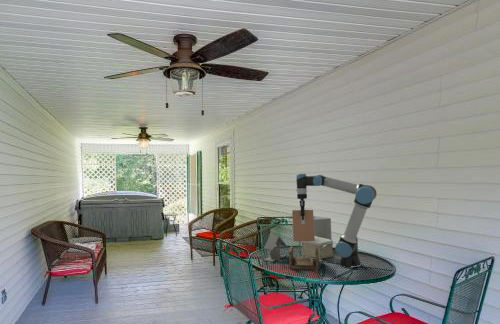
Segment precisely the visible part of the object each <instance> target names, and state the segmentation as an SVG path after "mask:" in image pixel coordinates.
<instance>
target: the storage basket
mask: <svg viewBox="0 0 500 324" xmlns="http://www.w3.org/2000/svg"><path fill="white" fill-rule="evenodd" d="M300 242H301V251H302V255H303V257H312V258H314V259H316V246H318V258H319V260H321V259H325V258H330V257H333V246H334V245H333V244H334V241H333V239H332V240H329V239H325V238H321V237H316V236H314V241H300Z"/></svg>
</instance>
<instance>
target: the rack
mask: <svg viewBox="0 0 500 324" xmlns="http://www.w3.org/2000/svg"><path fill="white" fill-rule="evenodd" d="M295 258H296V257H294V246H293V245H290V247H289V250H288V261H289V263H288V264H289V266H288V267H289V270H292V269H293V270H319V265H320V263H319V260H320V259H319V258H318V246H316V258H315V257H312V258H310V260H313V263H314V266H310V265H294V264H295V262H297V261H295Z"/></svg>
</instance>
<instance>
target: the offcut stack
mask: <svg viewBox="0 0 500 324" xmlns="http://www.w3.org/2000/svg"><path fill="white" fill-rule="evenodd" d="M310 257H311V256H295V257H294V258H295V261H297V262H295V264H294V265H310V266H314V263H313V260H310Z"/></svg>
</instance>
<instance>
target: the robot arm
mask: <svg viewBox="0 0 500 324" xmlns="http://www.w3.org/2000/svg"><path fill="white" fill-rule="evenodd" d="M320 186H322V187H327V188H330V189H333V190H334V189H335V190H337V191H341V192H345V193H349V194H352V195H355V196H354V197H355V198H354V200H353V203H354V207H353V208H352V211H351V215H350V217H349V219H348V222H347V225H346V227H345V230H344V233H343V234H341V235H340V237H339V240H338V242H337V243H336V245H335V252H336V255H338V256H339V257H340V258H341V259H340V263H339V265H340V266H341V265H342V266H345V267H344V268H346V267H351V266H357V265H360V264H361V259H360V257H359V246H358V245H359V244H358V239H359V238H358V234H359V231H360V228H361V226H362V223H363V221H364V218H365V216H366V213H367V210H368V209H370V208H371V205H372V203H373V200H375V199H376V197H377V190H376V188H375V186H372V185H369V184H363V183H358V184H357V183H352V182H349V181H345V180H340V179H335V178H332V177H328V176H324V175H322V174H318V175H310V176H307V173H297V174H296V190H295V191H296V192H297V194H296V196H297V197H296V198H297V200H299V207H300V210H301V215H300V216H301V224H305V216H304V210H306V209H305V205H306V201H305V200H306V199H308V195H307V194H308V190H307V189H308V188H307V187H320ZM361 265H362V264H361ZM342 266H341V267H342Z"/></svg>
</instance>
